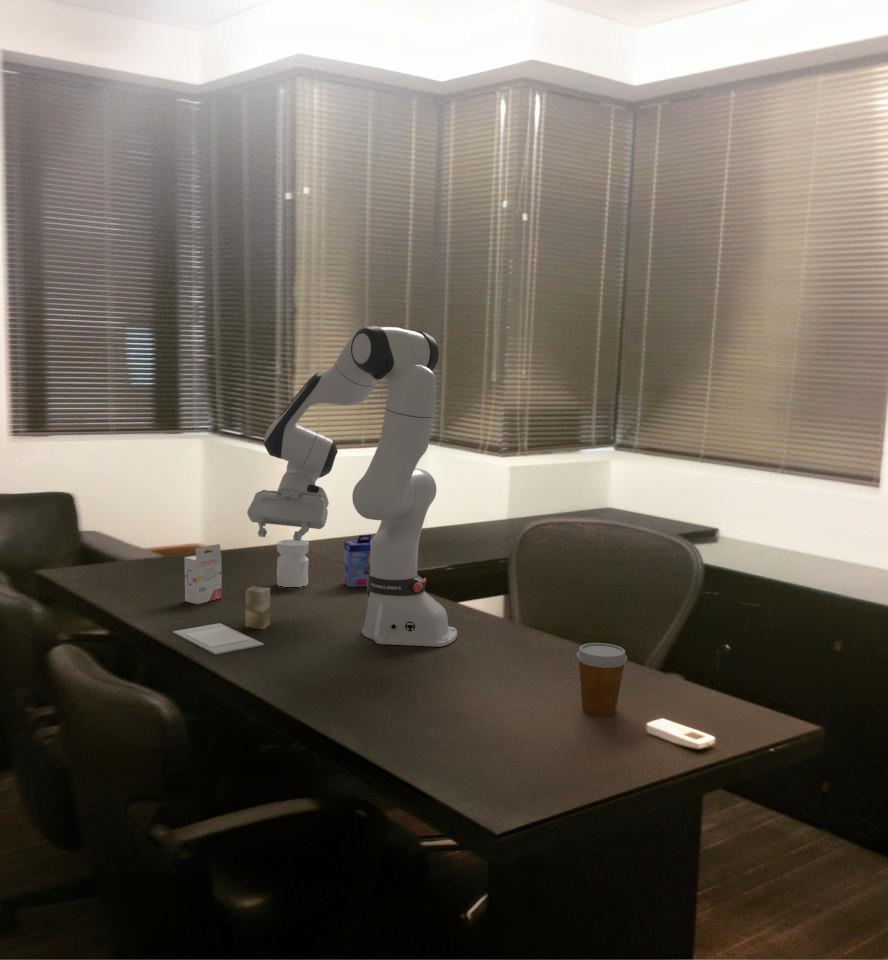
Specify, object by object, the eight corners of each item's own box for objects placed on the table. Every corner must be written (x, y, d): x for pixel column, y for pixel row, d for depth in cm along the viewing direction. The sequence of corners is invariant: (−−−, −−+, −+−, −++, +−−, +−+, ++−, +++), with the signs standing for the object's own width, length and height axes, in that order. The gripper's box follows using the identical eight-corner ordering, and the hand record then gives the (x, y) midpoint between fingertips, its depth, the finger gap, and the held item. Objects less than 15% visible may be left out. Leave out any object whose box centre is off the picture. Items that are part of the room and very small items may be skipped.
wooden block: (269, 624, 245) (270, 588, 244) (263, 629, 241) (263, 592, 240) (252, 622, 246) (252, 586, 245) (245, 627, 243) (245, 590, 241)
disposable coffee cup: (590, 697, 202) (593, 639, 200) (633, 709, 196) (636, 649, 194) (564, 710, 195) (567, 649, 193) (607, 723, 189) (611, 660, 187)
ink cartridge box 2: (348, 588, 283) (349, 536, 281) (342, 583, 288) (343, 533, 286) (381, 585, 288) (383, 534, 285) (374, 580, 292) (375, 531, 290)
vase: (271, 586, 282) (271, 543, 281) (285, 579, 291) (285, 538, 289) (300, 589, 280) (300, 546, 278) (313, 582, 288) (313, 540, 286)
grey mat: (173, 633, 236) (173, 630, 236) (219, 624, 244) (219, 622, 244) (215, 654, 221) (215, 652, 221) (263, 645, 229) (263, 642, 229)
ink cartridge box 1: (209, 595, 271) (209, 540, 269) (222, 598, 268) (222, 543, 266) (183, 601, 264) (183, 545, 262) (196, 604, 261) (196, 548, 259)
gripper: (254, 482, 261) (236, 526, 254) (329, 489, 257) (313, 534, 249) (260, 496, 266) (243, 540, 258) (334, 503, 262) (319, 548, 254)
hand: (278, 537), depth 254 cm, fingers open, 8 cm apart
